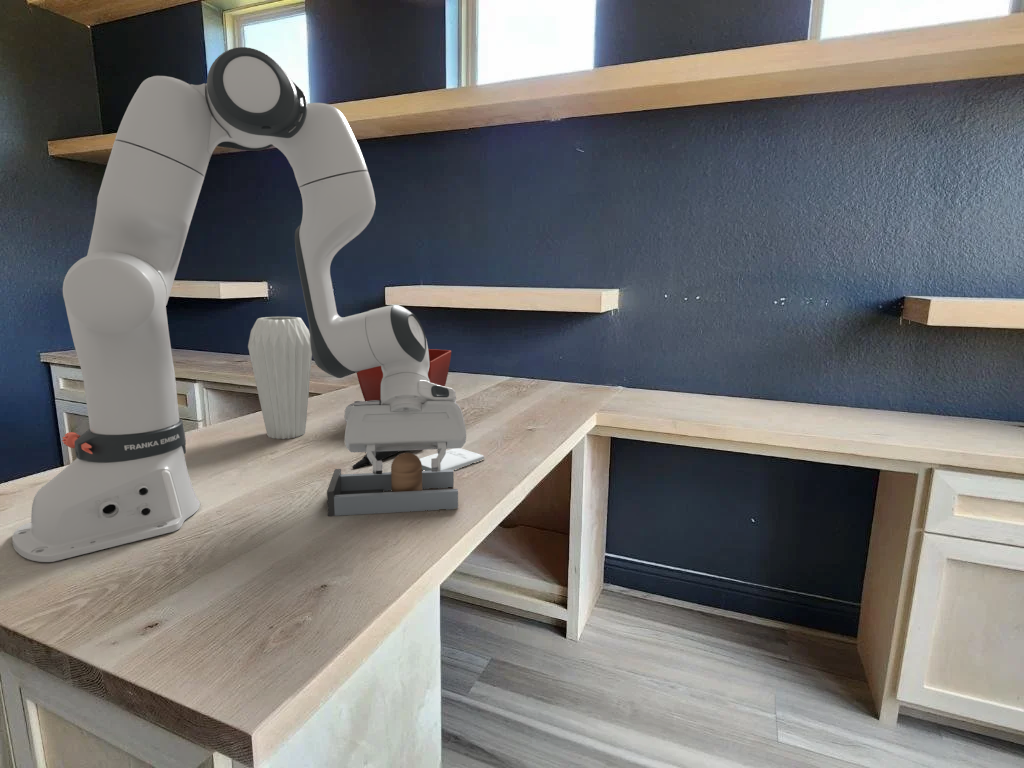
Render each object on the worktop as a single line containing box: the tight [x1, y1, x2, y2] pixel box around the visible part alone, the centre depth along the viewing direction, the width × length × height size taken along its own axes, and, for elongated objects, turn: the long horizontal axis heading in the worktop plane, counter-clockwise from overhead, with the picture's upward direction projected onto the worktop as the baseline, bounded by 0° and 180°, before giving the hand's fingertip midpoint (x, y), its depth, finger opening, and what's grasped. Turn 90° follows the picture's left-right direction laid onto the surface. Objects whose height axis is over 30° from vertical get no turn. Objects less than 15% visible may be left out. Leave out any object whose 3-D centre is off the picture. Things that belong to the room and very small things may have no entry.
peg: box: [390, 452, 423, 492], centre depth 93 cm, size 5×5×8 cm
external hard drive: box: [419, 448, 485, 471], centre depth 112 cm, size 2×8×12 cm
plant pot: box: [356, 348, 452, 401], centre depth 142 cm, size 19×19×17 cm
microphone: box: [352, 451, 401, 469], centre depth 116 cm, size 6×6×20 cm
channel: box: [326, 468, 459, 517], centre depth 93 cm, size 20×10×4 cm, turn 100°
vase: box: [247, 316, 313, 440], centre depth 126 cm, size 13×13×26 cm
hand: (407, 471), depth 93 cm, fingers open, 8 cm apart
